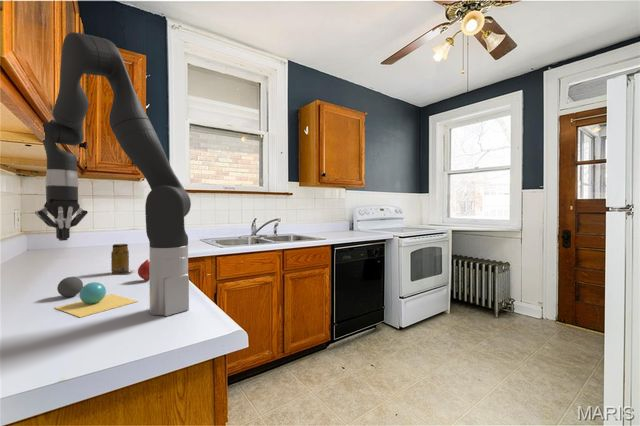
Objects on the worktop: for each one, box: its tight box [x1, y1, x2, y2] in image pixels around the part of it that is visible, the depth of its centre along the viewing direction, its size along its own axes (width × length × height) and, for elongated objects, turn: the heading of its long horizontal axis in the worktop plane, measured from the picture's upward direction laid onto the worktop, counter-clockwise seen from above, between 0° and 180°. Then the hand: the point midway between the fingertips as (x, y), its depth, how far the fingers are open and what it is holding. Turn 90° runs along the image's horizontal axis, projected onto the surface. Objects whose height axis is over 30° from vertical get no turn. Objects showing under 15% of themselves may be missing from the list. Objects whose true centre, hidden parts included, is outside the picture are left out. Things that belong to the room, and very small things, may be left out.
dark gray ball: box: [56, 276, 84, 298], centre depth 89 cm, size 6×6×6 cm
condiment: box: [106, 243, 138, 276], centre depth 121 cm, size 7×8×12 cm
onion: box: [137, 259, 150, 282], centre depth 109 cm, size 6×6×8 cm
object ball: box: [78, 282, 107, 304], centre depth 83 cm, size 6×6×6 cm
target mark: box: [54, 294, 139, 318], centre depth 82 cm, size 14×14×1 cm
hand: (62, 240), depth 91 cm, fingers closed
